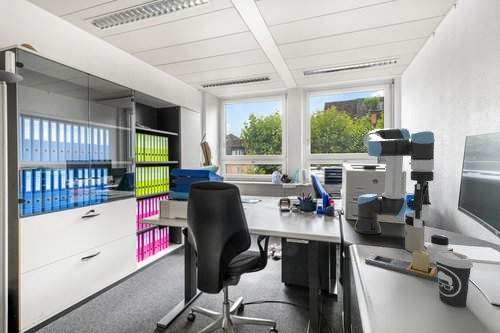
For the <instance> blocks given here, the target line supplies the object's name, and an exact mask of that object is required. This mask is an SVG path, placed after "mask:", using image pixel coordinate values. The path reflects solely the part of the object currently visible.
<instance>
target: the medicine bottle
mask: <svg viewBox="0 0 500 333" xmlns="http://www.w3.org/2000/svg"><path fill="white" fill-rule="evenodd" d="M426 251H427V252H430V264H434V265H436V260H435V259H434V257H435V255H436V254H437V252H439V251H451V252H454V248H453V247H451V246H449V238H448V237H447V236H446V235H442V234H433V235H432V234H431V236H430V244H429V245H427V246H426Z"/></svg>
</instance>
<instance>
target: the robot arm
mask: <svg viewBox="0 0 500 333" xmlns="http://www.w3.org/2000/svg"><path fill="white" fill-rule="evenodd" d="M435 141H436V140H435V134H434V132H433V131H430V130H427V131H415V132H412V133H411V134H410V131H409V129H407V128H403V127H395V128H392V127H391V128H376V129H373V130H371V131H368V132H367V133H366V134H364V135H363V138H362V143H363V145H364V147H365V148H367V155H368V156H369V157H376V158H377V157H385V160H386V161H385V175H384V176H385V178H384V180H385V181H384V182H385V184H384V191H383V192H382V193H381V196H379V195H378V194H376V193H366V194H361V195H358V197H357V220H356V222H355V225H354V231H355V232H358V233H360V234H366V235H378V234H381V232H382V228H381V225H380V222H379V219H378V218H379V216H386V217H394V218H395V217H403V216H404V215H406V212H407V207H408V206H407V204H408V202H407V198H406V197H405V196H404V194H403V193H402V183H403V182H402V180H403V167H404V166H403V164H404V157H410V162H409V164H408V165H410V170H411V171H410V180H411V181H415V182H416V183H415V184H414V192H413V198H412V199H413V202H412V207H411V208H410V210H411V211H413V213H414V227H418V228H422V221H424V222H425V221H427V222H429V216H430V214H429V210H430V208H429V206H430V205H432V203H431V202H430V193H429V188H430V186H429V182H433V181H434V174H435V172H434V169H435V167H434V166H435V160H434V157H435Z"/></svg>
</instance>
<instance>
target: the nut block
mask: <svg viewBox="0 0 500 333" xmlns="http://www.w3.org/2000/svg"><path fill="white" fill-rule="evenodd" d="M412 263H413V270H417V271H421V272H424V273H428V274H430V267H431V263H430V252H427V250H424V251H422V250H418V249H415V250H414V251H413V252H412Z"/></svg>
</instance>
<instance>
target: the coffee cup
mask: <svg viewBox="0 0 500 333" xmlns="http://www.w3.org/2000/svg"><path fill="white" fill-rule="evenodd" d="M434 259H435V260H436V264H435V265H436V269H437V274H438V282H437V284H438V294H439V300H440V301H441V302H442V303H443V304H446V305H448V306H450V307H453V308H465V307H466V306H467V300H468V293H469V284H470V277H471V269H473V267H474V265H473V262H472V260H471V258H470V257H469V256H468V255H466V254H463V253H460V252H456V251H453V252H451V251H439V252H437V254H436V255H435V257H434Z"/></svg>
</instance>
